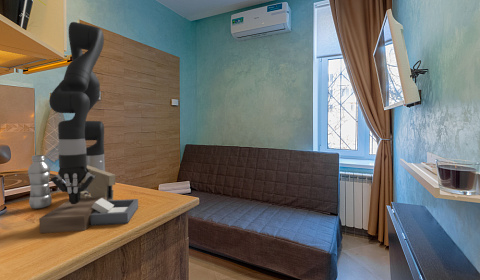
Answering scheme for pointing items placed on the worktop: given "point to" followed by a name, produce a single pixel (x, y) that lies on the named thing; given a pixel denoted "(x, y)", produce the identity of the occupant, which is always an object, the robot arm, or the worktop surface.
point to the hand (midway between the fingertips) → (74, 203)
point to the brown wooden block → (69, 216)
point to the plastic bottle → (39, 183)
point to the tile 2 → (118, 209)
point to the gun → (99, 184)
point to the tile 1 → (102, 206)
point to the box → (115, 213)
